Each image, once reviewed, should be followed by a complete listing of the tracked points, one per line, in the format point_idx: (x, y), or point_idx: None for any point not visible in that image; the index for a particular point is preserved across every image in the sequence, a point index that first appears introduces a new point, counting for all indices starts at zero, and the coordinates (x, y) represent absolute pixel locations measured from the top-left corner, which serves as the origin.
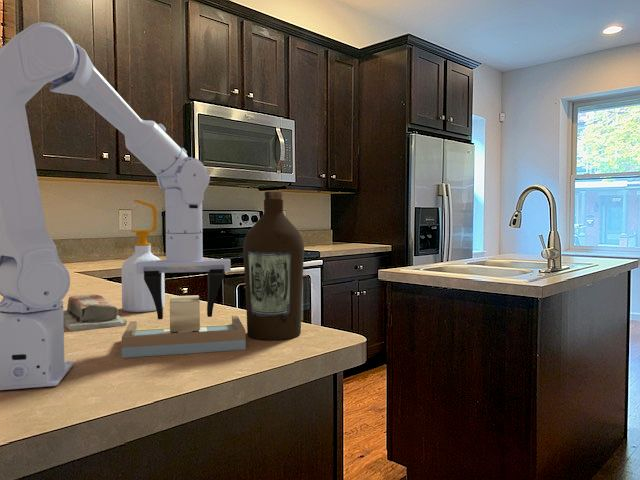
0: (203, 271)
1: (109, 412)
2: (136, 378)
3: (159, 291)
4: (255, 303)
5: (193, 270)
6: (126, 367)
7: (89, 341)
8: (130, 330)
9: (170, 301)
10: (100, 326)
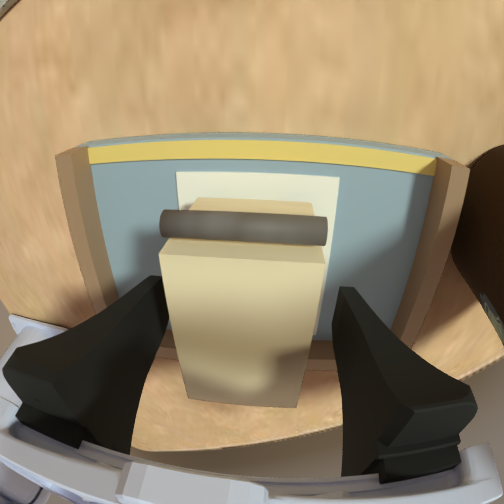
0: (336, 484)
1: (186, 448)
2: (185, 404)
3: (134, 407)
4: (497, 330)
5: (275, 492)
6: (154, 365)
7: (14, 152)
8: (98, 291)
9: (184, 375)
10: (9, 6)
